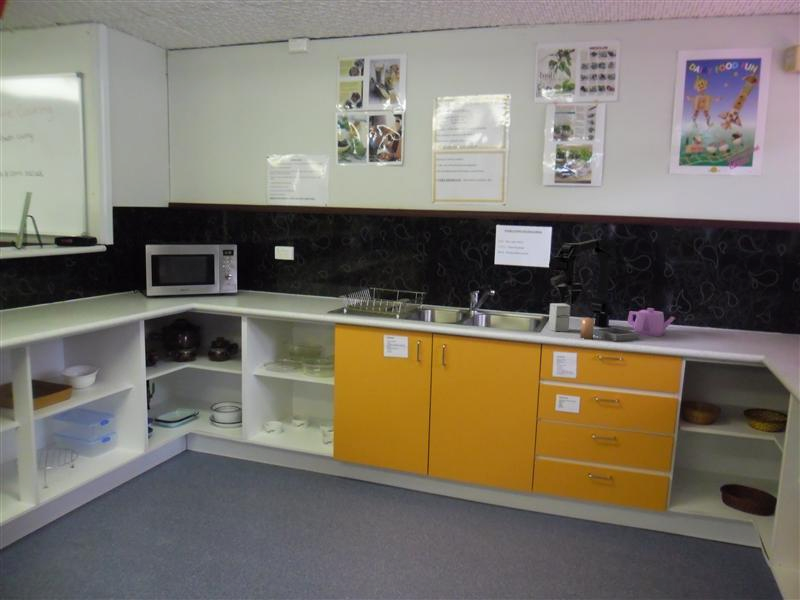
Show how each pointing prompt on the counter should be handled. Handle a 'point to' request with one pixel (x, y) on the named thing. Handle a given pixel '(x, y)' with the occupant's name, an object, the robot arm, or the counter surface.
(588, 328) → the orange-brown rounded cylinder
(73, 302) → the counter surface
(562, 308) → the grey box
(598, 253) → the robot arm
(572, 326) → the counter surface
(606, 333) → the tray
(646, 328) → the teakettle
